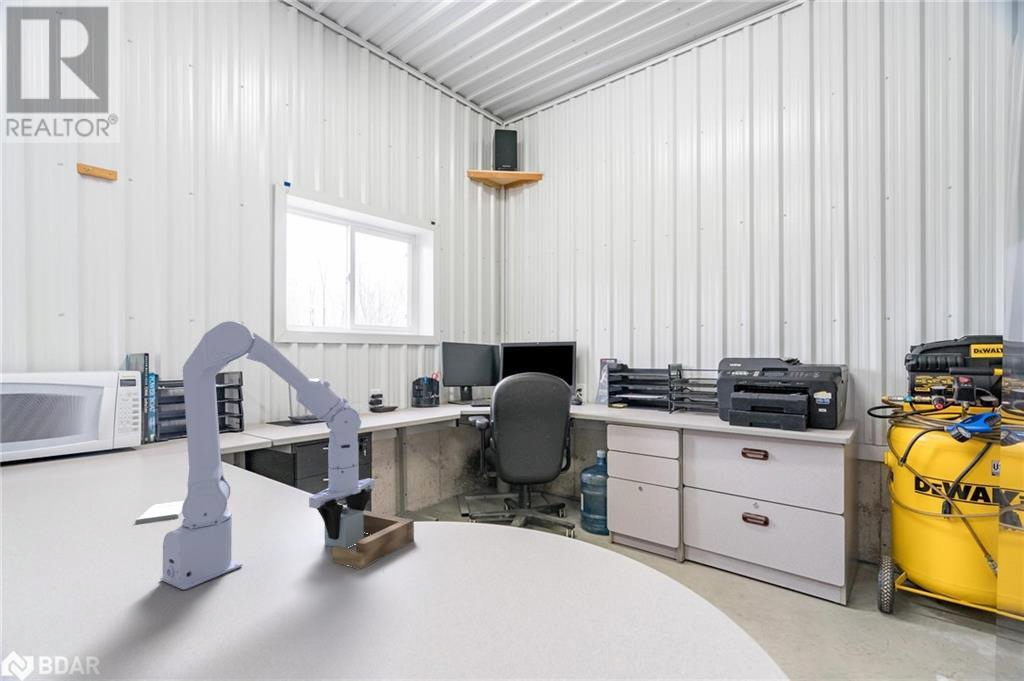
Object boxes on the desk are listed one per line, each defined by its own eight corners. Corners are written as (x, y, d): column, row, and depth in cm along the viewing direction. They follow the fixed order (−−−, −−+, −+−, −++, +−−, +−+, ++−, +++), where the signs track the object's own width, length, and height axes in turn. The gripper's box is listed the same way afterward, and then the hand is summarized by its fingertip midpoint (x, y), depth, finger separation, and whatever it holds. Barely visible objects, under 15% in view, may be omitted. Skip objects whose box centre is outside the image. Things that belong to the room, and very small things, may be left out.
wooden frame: (359, 569, 77) (359, 546, 78) (290, 549, 86) (290, 528, 87) (413, 540, 90) (413, 520, 90) (348, 525, 99) (348, 507, 99)
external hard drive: (135, 526, 103) (152, 510, 114) (178, 520, 106) (190, 505, 118) (135, 519, 103) (152, 504, 114) (178, 513, 106) (190, 499, 118)
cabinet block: (345, 549, 86) (345, 513, 86) (324, 544, 88) (324, 508, 89) (363, 541, 90) (363, 506, 90) (343, 536, 92) (342, 502, 93)
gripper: (326, 476, 81) (327, 551, 81) (384, 459, 94) (385, 524, 94) (301, 472, 85) (301, 544, 84) (360, 456, 98) (361, 519, 97)
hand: (344, 533), depth 89 cm, fingers closed on cabinet block, 4 cm apart
